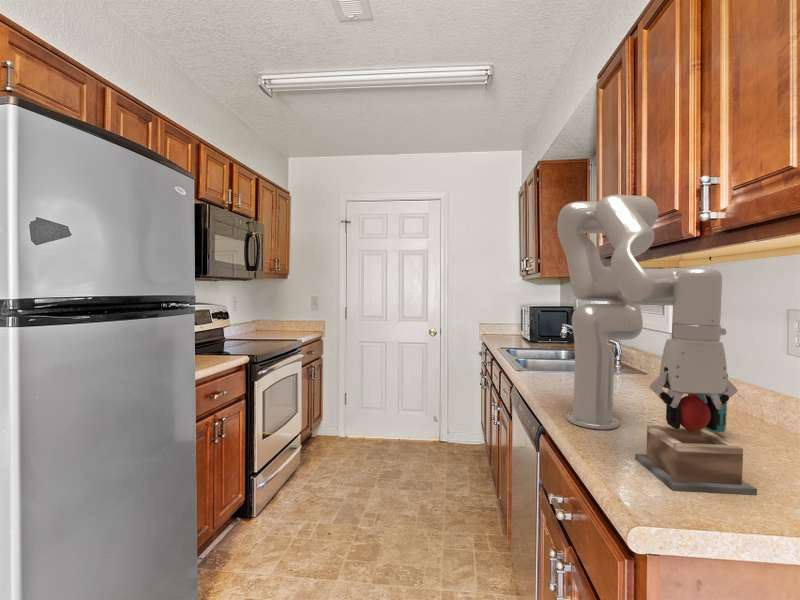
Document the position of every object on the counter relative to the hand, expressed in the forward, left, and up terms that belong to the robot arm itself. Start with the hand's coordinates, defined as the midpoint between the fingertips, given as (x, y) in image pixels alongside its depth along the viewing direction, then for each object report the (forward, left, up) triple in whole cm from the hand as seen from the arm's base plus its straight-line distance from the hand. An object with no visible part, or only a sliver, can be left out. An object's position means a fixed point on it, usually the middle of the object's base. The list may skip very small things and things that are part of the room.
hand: (691, 426), depth 81 cm
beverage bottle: (-25, +19, -10) cm, 33 cm away
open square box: (0, 0, -9) cm, 9 cm away
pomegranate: (0, 0, -1) cm, 1 cm away
